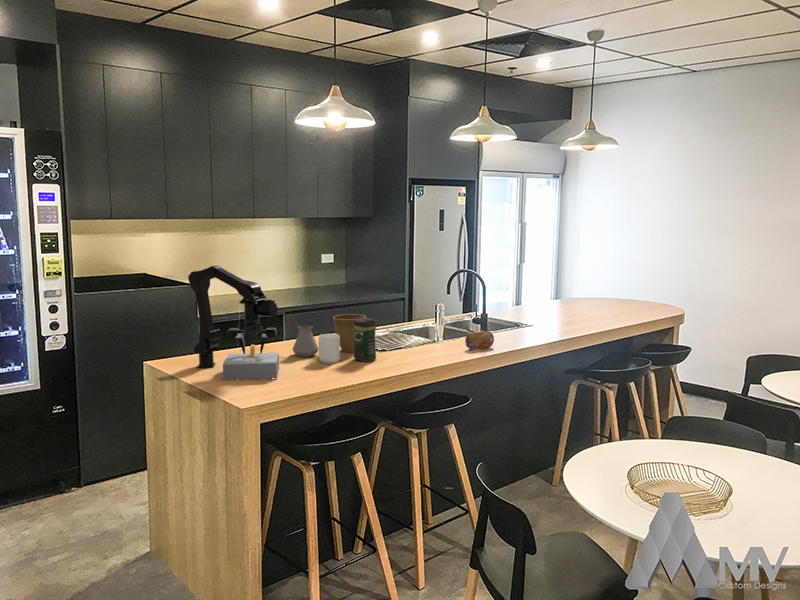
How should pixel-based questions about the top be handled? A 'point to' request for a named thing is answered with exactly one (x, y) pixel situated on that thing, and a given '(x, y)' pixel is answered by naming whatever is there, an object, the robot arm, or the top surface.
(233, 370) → the carton
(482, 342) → the tin
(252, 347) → the lid
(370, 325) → the coffee jar
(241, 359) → the lid
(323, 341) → the mug
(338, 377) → the top surface
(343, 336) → the plant pot
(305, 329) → the coffee pot
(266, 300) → the robot arm
